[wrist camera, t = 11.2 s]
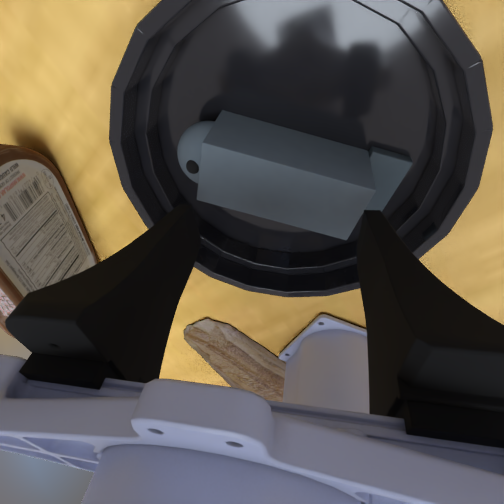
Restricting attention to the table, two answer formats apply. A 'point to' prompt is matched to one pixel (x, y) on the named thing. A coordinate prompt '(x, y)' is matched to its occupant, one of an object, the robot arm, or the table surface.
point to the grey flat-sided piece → (288, 173)
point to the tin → (36, 228)
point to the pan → (303, 120)
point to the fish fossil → (238, 358)
